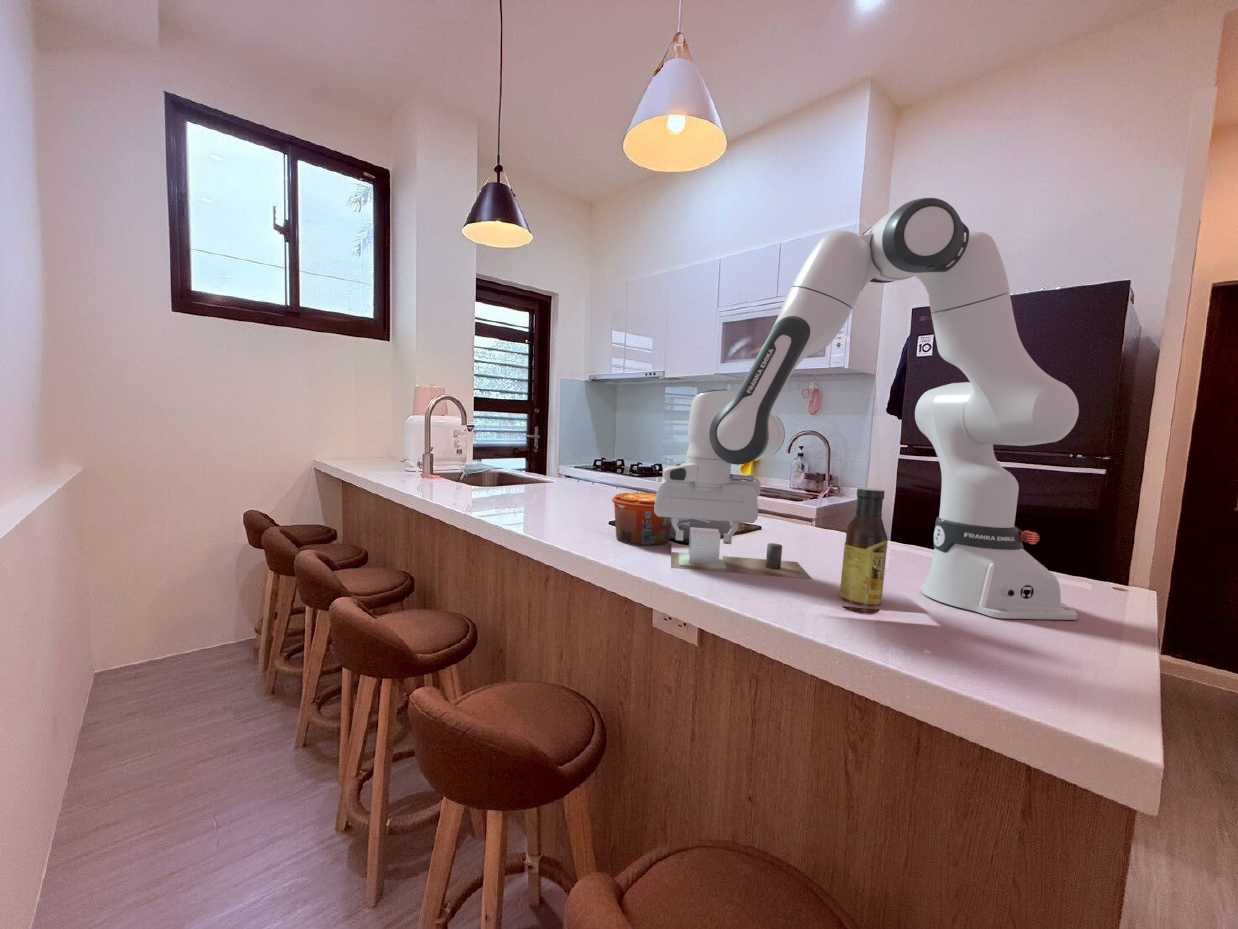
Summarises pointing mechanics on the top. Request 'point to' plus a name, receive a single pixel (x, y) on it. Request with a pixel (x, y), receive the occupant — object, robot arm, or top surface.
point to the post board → (747, 564)
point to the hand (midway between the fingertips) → (703, 541)
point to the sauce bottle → (865, 553)
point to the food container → (640, 520)
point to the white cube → (704, 546)
